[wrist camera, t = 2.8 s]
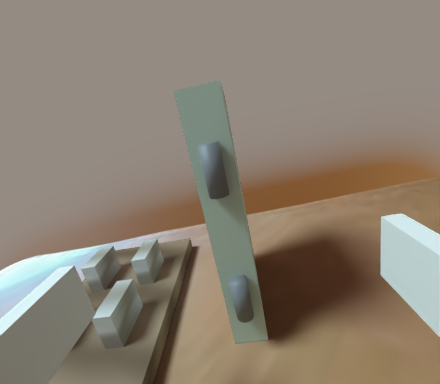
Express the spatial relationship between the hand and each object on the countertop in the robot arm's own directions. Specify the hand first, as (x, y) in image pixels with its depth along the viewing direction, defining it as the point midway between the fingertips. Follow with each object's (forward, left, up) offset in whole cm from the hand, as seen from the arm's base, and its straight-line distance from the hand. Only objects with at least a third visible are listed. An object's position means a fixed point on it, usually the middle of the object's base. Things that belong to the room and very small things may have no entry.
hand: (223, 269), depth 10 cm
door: (+9, -4, -10) cm, 14 cm away
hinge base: (+14, +7, -10) cm, 19 cm away
